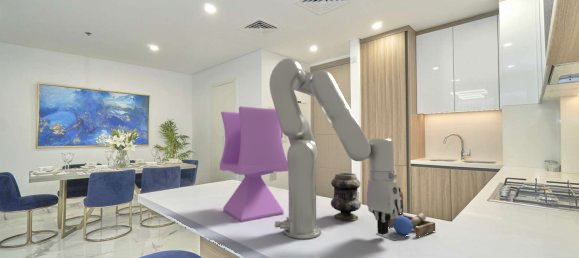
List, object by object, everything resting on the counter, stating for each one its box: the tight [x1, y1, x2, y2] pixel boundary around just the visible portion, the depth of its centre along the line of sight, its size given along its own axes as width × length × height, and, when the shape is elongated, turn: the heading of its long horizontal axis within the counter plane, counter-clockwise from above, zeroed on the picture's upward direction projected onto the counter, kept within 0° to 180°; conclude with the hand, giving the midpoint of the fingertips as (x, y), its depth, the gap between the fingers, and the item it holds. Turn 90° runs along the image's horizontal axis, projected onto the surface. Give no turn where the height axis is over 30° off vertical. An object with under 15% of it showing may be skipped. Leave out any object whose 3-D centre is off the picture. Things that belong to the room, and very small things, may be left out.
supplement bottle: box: [398, 186, 404, 216], centre depth 112 cm, size 6×6×11 cm
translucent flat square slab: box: [375, 228, 406, 241], centre depth 86 cm, size 8×7×1 cm
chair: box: [219, 106, 288, 223], centre depth 114 cm, size 22×22×45 cm
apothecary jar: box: [330, 172, 362, 222], centre depth 106 cm, size 12×12×18 cm
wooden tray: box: [388, 214, 436, 238], centre depth 91 cm, size 10×12×3 cm
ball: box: [392, 215, 413, 235], centre depth 86 cm, size 6×6×6 cm
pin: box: [410, 212, 427, 229], centre depth 90 cm, size 2×2×8 cm
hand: (382, 233), depth 83 cm, fingers closed
